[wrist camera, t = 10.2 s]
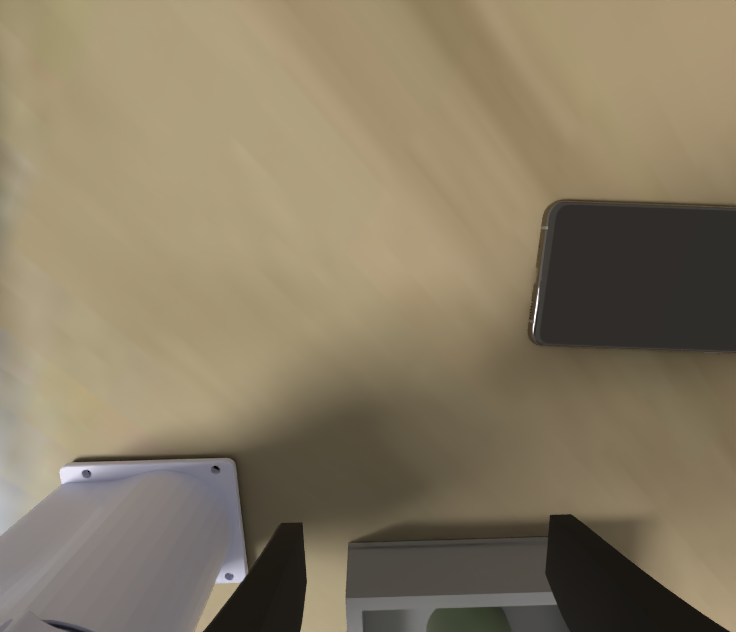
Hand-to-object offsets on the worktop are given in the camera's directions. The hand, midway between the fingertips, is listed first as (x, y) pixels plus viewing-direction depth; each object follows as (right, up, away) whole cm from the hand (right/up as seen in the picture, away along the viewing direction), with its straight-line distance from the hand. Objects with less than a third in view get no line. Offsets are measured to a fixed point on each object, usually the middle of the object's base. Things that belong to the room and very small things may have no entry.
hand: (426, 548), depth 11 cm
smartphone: (+15, +9, +9) cm, 19 cm away
